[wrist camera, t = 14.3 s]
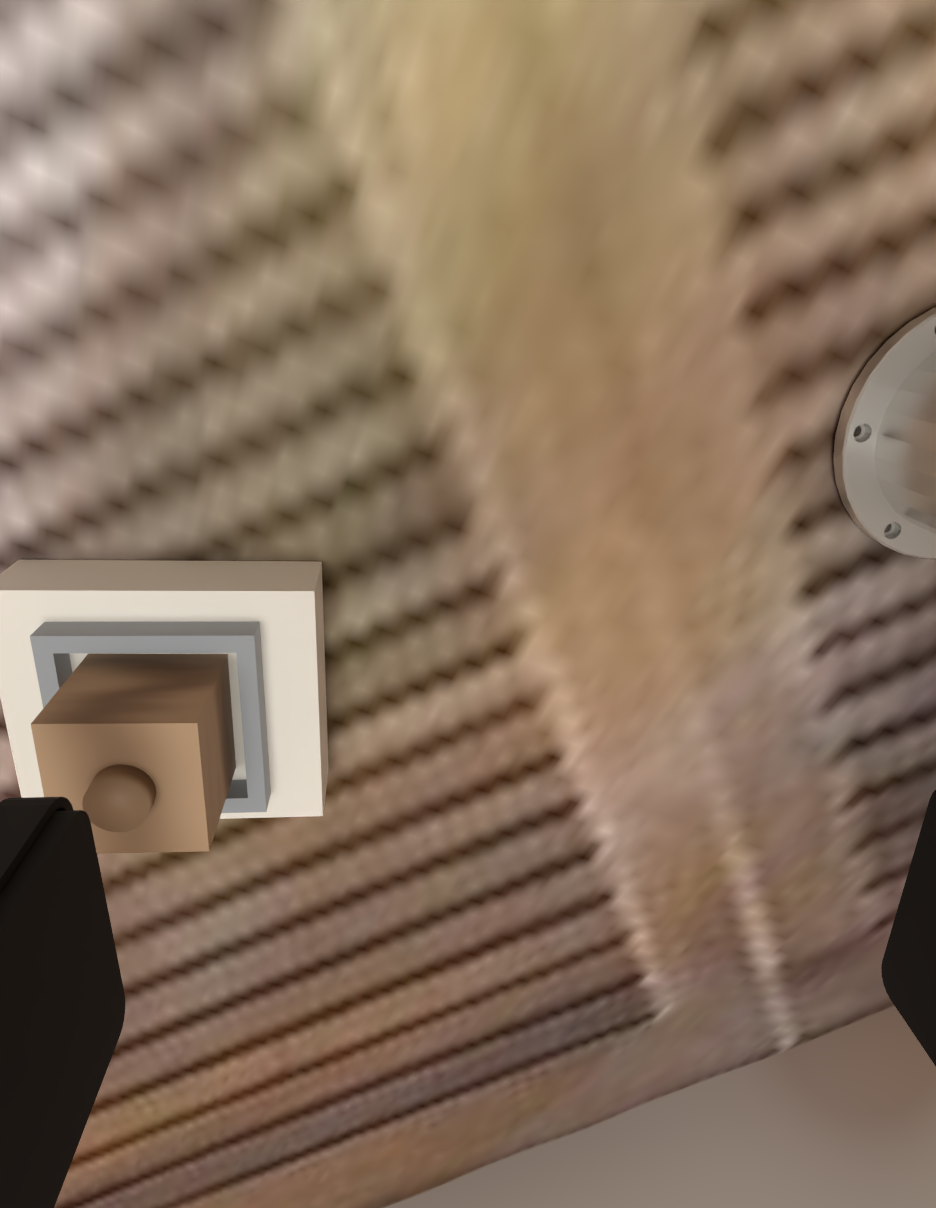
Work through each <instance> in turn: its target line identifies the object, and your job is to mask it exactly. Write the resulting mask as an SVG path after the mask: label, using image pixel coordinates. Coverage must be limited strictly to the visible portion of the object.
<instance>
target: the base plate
mask: <svg viewBox="0 0 936 1208" xmlns="http://www.w3.org/2000/svg"><path fill="white" fill-rule="evenodd" d="M87 654H228V665H229V679H230V692H231V706H232V719H233V733H234V747H235V760H236V769H235V772H234V775H233V778H232V781H231V784H230V788H229V791H228V794H227V797H226V800H225V803H224V806H223V810H222V813H221V816H220V819H225V818H264V817H303V816H323V811H324V803H325V795H326V787H327V779H328V771H329V766H328V736H327V706H326V675H325V645H324V615H323V585H322V562H319V561H168V560H18V561H17V562H15V563H14V564H13V565H11V566H10V567H9V568H7V569H6V570H5V571H3V572H2V573H0V698H1V702H2V707H3V712H4V717H5V721H6V726H7V731H8V736H9V740H10V745H11V750H12V754H13V759H14V764H15V769H16V773H17V778H18V783H19V788H20V792H21V797H22V798H28V797H44V794H43V788H42V783H41V777H40V772H39V767H38V761H37V756H36V750H35V745H34V740H33V734H32V729H31V723H32V722H33V721H34V719H35V718H36V717H37V716H38V714H39V713H40V712H41V711H42V710H43V708H44V707H45V706H46V705H47V703H48V702H49V701H50V700H51V698H52V697H53V696H54V695H55V694H56V692H57V691H58V690H59V689H60V687H61V686H62V685H63V684H64V683H65V681H66V680H67V679H68V678H69V676H70V675H71V674H72V673H73V672H74V670H75V669H76V668H77V667H78V665H79V664H80V663H81V662H82V661H83V659H84V658H85V657H86V656H87Z"/></svg>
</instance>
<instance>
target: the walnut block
mask: <svg viewBox="0 0 936 1208" xmlns="http://www.w3.org/2000/svg"><path fill="white" fill-rule="evenodd" d="M31 729H32V734H33V740H34V745H35V750H36V756H37V761H38V767H39V772H40V777H41V783H42V788H43V794H44V797H65V798H67V799H68V800H69V801H70V803H71V804H72V807H73V810H83V811H85V812H86V813H87V814H88V816H89V819H90V822H91V827H92V832H93V837H94V842H95V847H96V852H97V854H99V853H145V852H192V851H209V850H210V847H211V844H212V841H213V838H214V835H215V832H216V828H217V825H218V822H219V819H220V816H221V813H222V810H223V806H224V803H225V800H226V797H227V794H228V791H229V788H230V784H231V781H232V778H233V775H234V772H235V769H236V760H235V747H234V733H233V719H232V706H231V692H230V679H229V665H228V654H87V656H86V657H85V658H84V659H83V661H82V662H81V663H80V664H79V665H78V667H77V668H76V669H75V670H74V672H73V673H72V674H71V675H70V676H69V678H68V679H67V680H66V681H65V683H64V684H63V685H62V686H61V687H60V689H59V690H58V691H57V692H56V694H55V695H54V696H53V697H52V698H51V700H50V701H49V702H48V703H47V705H46V706H45V707H44V708H43V710H42V711H41V712H40V713H39V714H38V716H37V717H36V718H35V719H34V721H33V722H32V723H31Z"/></svg>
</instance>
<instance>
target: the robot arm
mask: <svg viewBox="0 0 936 1208" xmlns="http://www.w3.org/2000/svg"><path fill="white" fill-rule="evenodd" d="M855 429H856V431H855ZM854 431H855V433H854ZM833 462H834V471H835V480H836V485H837V488H838V491H839V494H840V497H841V500H842V503H843V505H844V507H845V508H846V510H847V512H848V513H849V515H850V516H851V518H852V520H853V521H854V522H855V523H856V524H857V525H858V526H859V527H860V528H861V529H862V530H863V531H864V532H865V533H866V534H867V535H868V536H869V537H871V538H872V539H874V540H876V541H877V542H879V543H881V544H882V545H884V546H886V547H888V548H890V549H892V550H894V551H897V552H899V553H901V554H903V555H907V556H912V557H917V558H921V559H936V307H935V308H932V309H931V310H929V311H927V312H926V313H924V314H922V315H921V316H919V317H917V318H915V319H914V320H912V321H910V322H909V323H908V324H906V325H905V326H904V327H903V328H901V329H900V330H899V331H898V332H897V333H895V334H894V335H893V336H892V337H891V338H889V339H888V340H887V341H886V342H885V343H884V344H883V346H882V347H881V348H880V349H879V350H878V351H877V352H876V353H875V355H874V356H873V357H872V358H871V359H870V360H869V361H868V363H867V364H866V366H865V367H864V369H863V371H862V372H861V374H860V375H859V377H858V378H857V380H856V381H855V383H854V384H853V386H852V389H851V391H850V393H849V395H848V398H847V400H846V402H845V404H844V407H843V409H842V411H841V415H840V419H839V423H838V427H837V431H836V435H835V445H834V458H833ZM882 978H883V983H884V986H885V989H886V991H887V994H888V995H889V997H890V999H891V1001H892V1002H893V1004H894V1005H895V1007H896V1008H897V1010H898V1011H899V1013H900V1014H901V1015H902V1017H903V1018H904V1020H905V1021H906V1023H907V1024H908V1026H909V1027H910V1029H911V1030H912V1032H913V1033H914V1035H915V1036H916V1037H917V1039H918V1040H919V1042H920V1043H921V1045H922V1046H923V1048H924V1050H925V1051H926V1052H927V1054H928V1055H929V1057H930V1058H931V1060H932V1061H933V1063H934V1064H935V1066H936V790H935V791H934V792H933V794H932V796H931V798H930V801H929V804H928V807H927V811H926V814H925V818H924V821H923V824H922V828H921V831H920V835H919V838H918V842H917V845H916V848H915V852H914V855H913V859H912V862H911V865H910V869H909V872H908V876H907V879H906V882H905V886H904V889H903V893H902V896H901V900H900V903H899V906H898V910H897V913H896V917H895V920H894V923H893V927H892V930H891V934H890V937H889V940H888V944H887V947H886V951H885V954H884V958H883V961H882ZM124 1014H125V995H124V989H123V984H122V979H121V974H120V969H119V964H118V959H117V954H116V949H115V944H114V939H113V934H112V928H111V923H110V918H109V913H108V908H107V903H106V898H105V893H104V888H103V883H102V878H101V873H100V868H99V863H98V857H97V852H96V847H95V842H94V837H93V832H92V827H91V822H90V819H89V816H88V814H87V813H86V812H85V811H83V810H73V807H72V804H71V803H70V801H69V800H68V799H67V798H65V797H28V798H8V799H5V800H3V801H2V802H0V1208H54V1206H55V1203H56V1201H57V1198H58V1196H59V1193H60V1190H61V1188H62V1185H63V1182H64V1180H65V1177H66V1175H67V1172H68V1169H69V1167H70V1164H71V1162H72V1159H73V1156H74V1154H75V1151H76V1149H77V1146H78V1143H79V1141H80V1138H81V1135H82V1133H83V1130H84V1128H85V1125H86V1122H87V1120H88V1117H89V1115H90V1112H91V1109H92V1107H93V1104H94V1102H95V1099H96V1096H97V1094H98V1091H99V1089H100V1086H101V1083H102V1081H103V1078H104V1075H105V1073H106V1070H107V1068H108V1065H109V1062H110V1060H111V1057H112V1055H113V1052H114V1049H115V1047H116V1044H117V1042H118V1039H119V1036H120V1033H121V1030H122V1026H123V1021H124Z"/></svg>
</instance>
